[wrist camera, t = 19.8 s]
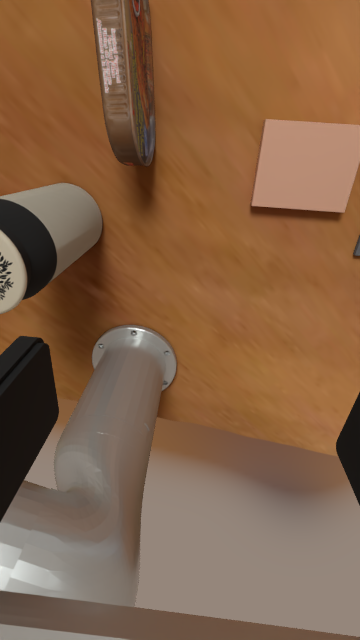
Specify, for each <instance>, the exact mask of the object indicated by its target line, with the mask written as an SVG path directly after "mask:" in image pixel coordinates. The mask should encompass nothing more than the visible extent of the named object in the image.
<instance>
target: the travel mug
mask: <svg viewBox="0 0 360 640" xmlns="http://www.w3.org/2000/svg"><path fill="white" fill-rule="evenodd" d="M101 232H102V216H101V212H100V210H99V207H98V205H97V204H96V202H95V201H94V199H93V198H92V197H91V196H90V195H89V194H88V193H87V192H86V191H85V190H83V189H82V188H80V187H78V186H75V185H73V184H68V183H58V184H54V185H49V186H45V187H41V188H36V189H32V190H27V191H23V192H18V193H14V194H9V195H5V196H0V314H2V313H5V312H8V311H10V310H12V309H13V308H15V307H16V306H17V305H18V304H19V303H20V302H21V300H23V299H27V298H30V297H32V296H34V295H35V294H36V293H38V292H39V291H40V290H41V289H43V288H44V287H45V286H46V285H47V284H48V283H50V282H51V281H52V280H53V279H54V278H56V277H57V276H58V275H59V274H60V273H62V272H63V271H64V270H65V269H66V268H67V267H69V266H70V265H71V264H72V263H73V262H75V261H76V260H77V259H78V258H79V257H81V256H82V255H83V254H84V253H85V252H86V251H88V250H89V249H90V248H91V247H92V246H93V245H95V243H96V242H97V241H98V239H99V237H100V235H101Z"/></svg>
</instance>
